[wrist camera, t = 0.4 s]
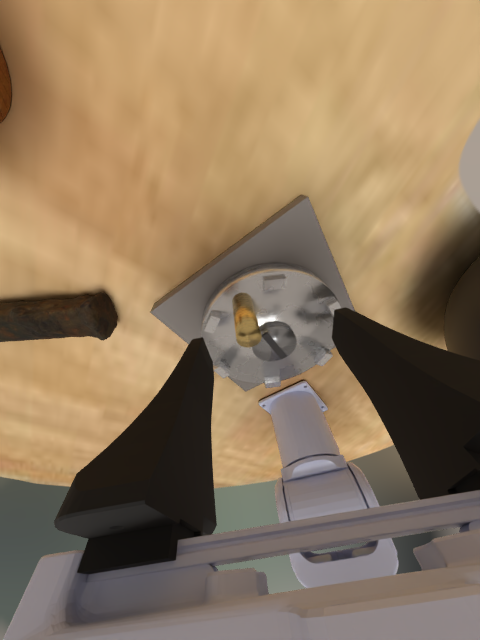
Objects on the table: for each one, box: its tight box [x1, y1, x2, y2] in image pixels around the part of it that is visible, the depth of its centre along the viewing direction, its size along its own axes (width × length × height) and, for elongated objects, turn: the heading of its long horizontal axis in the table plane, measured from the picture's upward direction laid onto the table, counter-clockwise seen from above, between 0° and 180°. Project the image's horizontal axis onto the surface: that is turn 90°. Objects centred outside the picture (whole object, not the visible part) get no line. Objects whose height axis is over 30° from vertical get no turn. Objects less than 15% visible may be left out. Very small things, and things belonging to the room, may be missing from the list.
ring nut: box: [201, 263, 341, 388], centre depth 18 cm, size 13×13×6 cm
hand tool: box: [0, 293, 118, 342], centre depth 17 cm, size 19×4×5 cm, turn 88°
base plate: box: [150, 195, 355, 391], centre depth 21 cm, size 16×16×2 cm
